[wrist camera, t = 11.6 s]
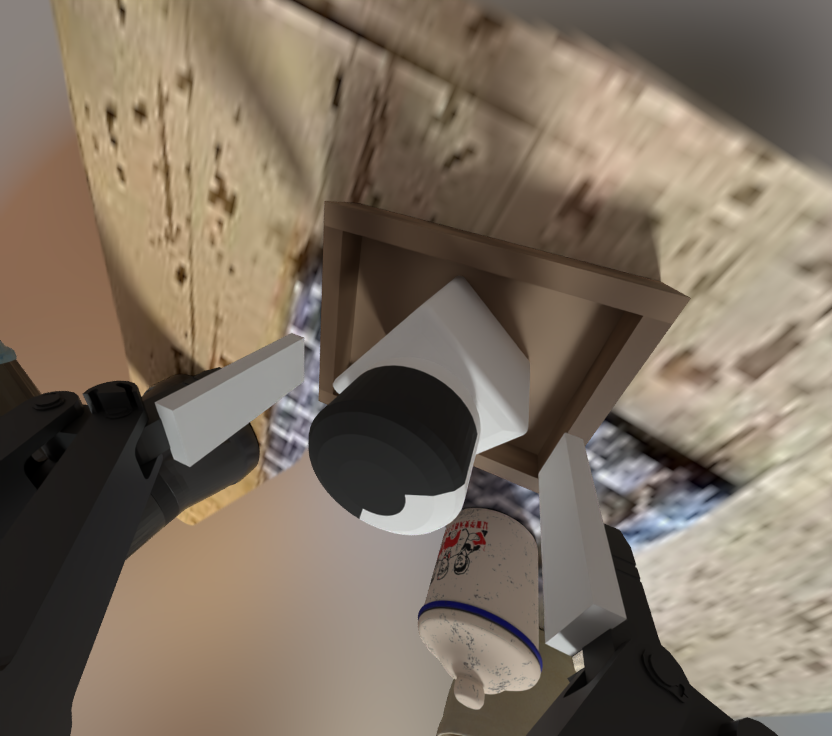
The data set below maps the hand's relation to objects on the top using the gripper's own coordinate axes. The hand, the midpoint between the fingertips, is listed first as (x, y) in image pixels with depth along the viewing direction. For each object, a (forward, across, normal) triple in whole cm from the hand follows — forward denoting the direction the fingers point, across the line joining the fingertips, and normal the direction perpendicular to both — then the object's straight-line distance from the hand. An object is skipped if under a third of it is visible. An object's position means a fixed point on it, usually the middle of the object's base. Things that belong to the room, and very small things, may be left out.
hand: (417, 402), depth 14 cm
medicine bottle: (+7, 0, 0) cm, 7 cm away
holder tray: (+8, -1, 0) cm, 8 cm away
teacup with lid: (+8, -9, +20) cm, 23 cm away
